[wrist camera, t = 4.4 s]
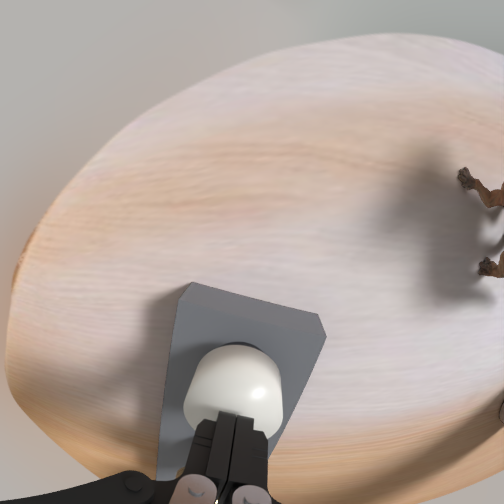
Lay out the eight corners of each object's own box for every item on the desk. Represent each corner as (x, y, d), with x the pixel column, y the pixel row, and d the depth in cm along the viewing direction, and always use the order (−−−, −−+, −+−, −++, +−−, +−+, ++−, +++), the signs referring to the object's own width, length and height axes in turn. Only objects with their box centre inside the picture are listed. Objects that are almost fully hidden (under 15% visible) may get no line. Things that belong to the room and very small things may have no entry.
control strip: (237, 490, 22) (234, 521, 18) (162, 472, 22) (152, 501, 18) (317, 314, 18) (330, 347, 14) (192, 281, 18) (171, 308, 14)
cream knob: (267, 416, 15) (266, 452, 12) (190, 398, 15) (178, 432, 12) (292, 356, 14) (296, 391, 11) (204, 334, 14) (190, 366, 11)
